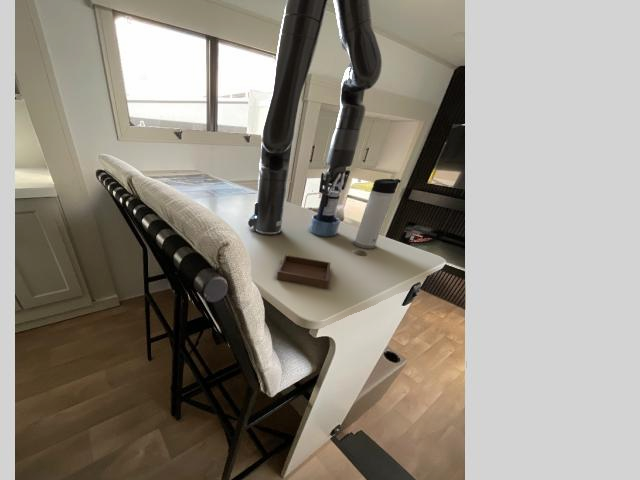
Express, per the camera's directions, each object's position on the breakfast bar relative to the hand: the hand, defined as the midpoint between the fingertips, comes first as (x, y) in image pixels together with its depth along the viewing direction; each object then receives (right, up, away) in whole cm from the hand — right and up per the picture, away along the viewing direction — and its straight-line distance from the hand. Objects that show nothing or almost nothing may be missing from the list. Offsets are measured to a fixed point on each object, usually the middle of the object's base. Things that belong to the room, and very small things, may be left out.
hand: (328, 204), depth 85 cm
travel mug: (+11, -14, -3) cm, 18 cm away
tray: (-13, -25, -20) cm, 35 cm away
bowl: (0, -8, +6) cm, 10 cm away
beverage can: (0, -6, +5) cm, 8 cm away
